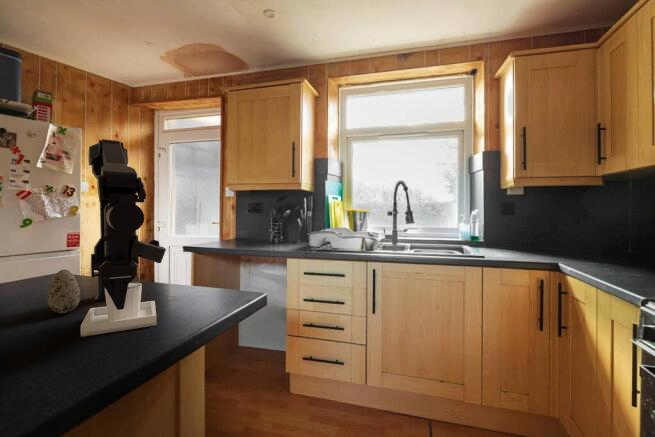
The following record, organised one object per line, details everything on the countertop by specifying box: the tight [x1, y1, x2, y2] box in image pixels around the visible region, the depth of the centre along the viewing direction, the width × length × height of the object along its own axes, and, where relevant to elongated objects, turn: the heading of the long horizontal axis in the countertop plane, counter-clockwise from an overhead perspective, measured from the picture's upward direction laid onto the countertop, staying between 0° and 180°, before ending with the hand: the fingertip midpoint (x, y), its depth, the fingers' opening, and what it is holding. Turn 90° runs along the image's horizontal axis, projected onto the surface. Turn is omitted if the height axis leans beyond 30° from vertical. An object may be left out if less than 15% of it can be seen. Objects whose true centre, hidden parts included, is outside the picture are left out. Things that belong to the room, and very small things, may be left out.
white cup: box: [105, 282, 143, 321], centre depth 71 cm, size 7×7×7 cm
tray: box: [80, 300, 157, 337], centre depth 71 cm, size 13×13×2 cm
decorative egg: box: [46, 269, 81, 314], centre depth 76 cm, size 6×6×10 cm
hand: (121, 303), depth 71 cm, fingers open, 9 cm apart
